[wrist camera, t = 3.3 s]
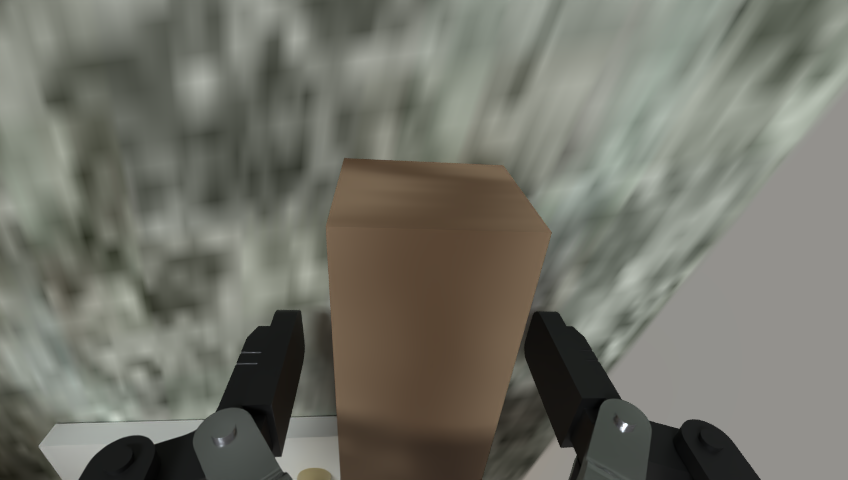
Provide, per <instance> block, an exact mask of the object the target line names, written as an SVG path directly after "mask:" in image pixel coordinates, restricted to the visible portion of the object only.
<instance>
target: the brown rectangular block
mask: <svg viewBox="0 0 848 480" xmlns="http://www.w3.org/2000/svg"><path fill="white" fill-rule="evenodd" d="M551 234H552V232H551V231H550V230H549V228H548V227H547V225H546V224H545V223H544V221H543V220H542V218H541V217H540V216H539V214H538V213H537V212H536V210H535V209H534V207H533V206H532V205H531V203H530V202H529V200H528V199H527V198H526V196H525V195H524V194H523V192H522V191H521V189H520V188H519V187H518V185H517V184H516V182H515V181H514V180H513V178H512V177H511V175H510V174H509V173H508V171H507V170H506V169H505V167H504V166H503V165H481V164H459V163H437V162H415V161H393V160H371V159H349V158H344V161H343V165H342V168H341V172H340V176H339V180H338V183H337V187H336V191H335V194H334V198H333V202H332V206H331V209H330V213H329V217H328V220H327V224H326V238H327V255H328V272H329V290H330V307H331V324H332V341H333V359H334V376H335V393H336V410H337V428H338V445H339V462H340V480H482V477H483V474H484V470H485V467H486V463H487V460H488V456H489V453H490V449H491V446H492V442H493V439H494V435H495V431H496V428H497V424H498V421H499V417H500V414H501V410H502V407H503V403H504V400H505V396H506V393H507V389H508V386H509V382H510V378H511V375H512V371H513V368H514V364H515V361H516V357H517V354H518V350H519V347H520V343H521V340H522V336H523V333H524V329H525V325H526V322H527V318H528V315H529V311H530V308H531V304H532V301H533V297H534V294H535V290H536V287H537V283H538V280H539V276H540V272H541V269H542V265H543V262H544V258H545V255H546V251H547V248H548V244H549V241H550V237H551Z"/></svg>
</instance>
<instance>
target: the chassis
mask: <svg viewBox="0 0 848 480" xmlns="http://www.w3.org/2000/svg"><path fill="white" fill-rule="evenodd" d="M203 421H204V420H178V421H142V422H105V423H69V424H55V425H54V427H53V428H52V429H51V431H50V432H49V433H48V434H47V436H46V437H45V438H44V439H43V441H42V442H41V443H40V445H39V446H38V447H39V448H40V450H41V451H42V452H43V454H44V455H45V457H46V458H47V459H48V461H49V462H50V463H51V465H52V466H53V468H54V469H55V470H56V472H57V473H58V474H59V476H60V477H61V479H62V480H78V479H79V478H80V476H81V474H82V473H83V471H84V469H85V467H86V466H87V464H88V463H89V461H90V460H91V459H92V458H93V457H94V456H95V455H96V454H97V453H98V452H99V451H100V450H101V449H103V448H104V447H105V446H107V445H108V444H110V443H112V442H114V441H116V440H118V439H120V438H123V437H127V436H132V435H141V436H145V437H148V438H149V439H151V440H152V442H153V443H154V444H157V443H160V442H163V441H167V440H170V439H173V438H176V437H180V436H183V435H186V434H188V433H190V432H193V431H195V430H196V429H197V428H198V427H199V425H200V424H201V423H202V422H203ZM275 459H276V461H277V462H278V464H279V466H280V468H281V469H282V471H283V472H284V473H285V472H287V473H288V474H289V475H290V476H291V478H292V479H293V480H340V462H339V445H338V428H337V416H323V417H291V418H290V422H289V427H288V431H287V435H286V440H285V444H284V449H283V453H282V457H275Z"/></svg>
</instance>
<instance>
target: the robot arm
mask: <svg viewBox="0 0 848 480" xmlns="http://www.w3.org/2000/svg"><path fill="white" fill-rule="evenodd" d="M524 350H525V358H526V361H527V364H528V366H529V369H530V371H531V374H532V376H533V379H534V381H535V384H536V387H537V389H538V392H539V394H540V397H541V399H542V402H543V404H544V407H545V409H546V412H547V414H548V417H549V420H550V422H551V425H552V427H553V430H554V432H555V435H556V437H557V440H558V442H559V445H560V447H561V448H564V447H574V449H575V452H576V454H577V456H576V458H575V460H574V463H573V467H572V470H571V474H570V477H569V480H761V479H760V478H759V477H758V475H757V474H756V473H755V471H754V470H753V469H752V467H751V466H750V464H749V463H748V462H747V460H746V459H745V458H744V456H743V455H742V454H741V452H740V451H739V450H738V448H737V447H736V445H735V444H734V443H733V441H732V440H731V439H730V438H729V437H728V436H727V435H726V434H725V433H724V432H723V431H721V430H720V429H718V428H717V427H715V426H714V425H712V424H709V423H707V422H705V421H701V420H693V419H692V420H687V421H686V422H684V423H683V425H682V426H681V428H680V429H678V428H674V427H670V426H667V425H663V424H659V423H655V422H652V421H649V420H648V419H647V417H646V416H645V414H644V413H643V412H642V411H641V410H639V409H638V408H637V407H635V406H634V405H632V404H631V403H629V402H627V401H624V400H622V399H621V397H620V396H619V394H618V393H617V391H616V389H615V387H614V386H613V384H612V382H611V381H610V379H609V377H608V376H607V374H606V372H605V371H604V369H603V367H602V366H601V364H600V362H598V359H597V357H596V356H595V354H594V352H592V349H591V347H590V346H589V344H588V342H587V340H586V339H585V337H584V336H583V335H582V334H580V333H579V332H578V331H577V330H576V329H575V328H574V327H573V326H566V325H565V323H564V321H563V319H562V318H561V316H560V314H559V313H558V312H535V313H534V314H533V317H532V320H531V324H530V327H529V331H528V334H527V337H526V341H525V347H524ZM304 352H305V343H304V333H303V324H302V315H301V311H300V310H277V311H276V312H275V314H274V317H273V320H272V323H271V325H270V326H258V327H257V328H256V329H255V330H254V331H253V332H252V333H251V334H250V335H249V336H248V337H247V339H246V341H245V344H244V346H243V349H242V351H241V354H240V356H239V358H238V361H237V365H236V366H235V368H234V370H233V373H232V375H231V378H230V380H229V382H228V385H227V387H226V390H225V392H224V394H223V397H222V399H221V402H220V404H219V407H218V408H217V410H216V412H215V413H213V414H212V415H210V416H209V417H207V418H206V419H205V420H204V421H203V422H202V423H201V424H200V425H199V427H198V428H197V429H196V430H195V431H193V432H190V433H188V434H186V435H183V436H180V437H176V438H173V439H170V440H167V441H163V442H160V443H157V444H154V443H153V442H152V440H151V439H149V438H148V437H145V436H141V435H132V436H127V437H123V438H120V439H118V440H116V441H114V442H112V443H110V444H108V445H107V446H105V447H104V448H103V449H101V450H100V451H99V452H98V453H97V454H96V455H95V456H94V457H93V458H92V459H91V460H90V461H89V463H88V464H87V466H86V467H85V469H84V471H83V473H82V474H81V476H80V478H79V479H78V480H293V479H292V478H291V476H290V475H289V474H288V473H287V472H285V473H284V472H283V471H282V469H281V468H280V466H279V464H278V462H277V461H276V459H275V457H282V453H283V449H284V444H285V440H286V435H287V431H288V427H289V422H290V418H291V414H292V409H293V405H294V401H295V396H296V392H297V387H298V383H299V379H300V374H301V370H302V366H303V361H304Z"/></svg>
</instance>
